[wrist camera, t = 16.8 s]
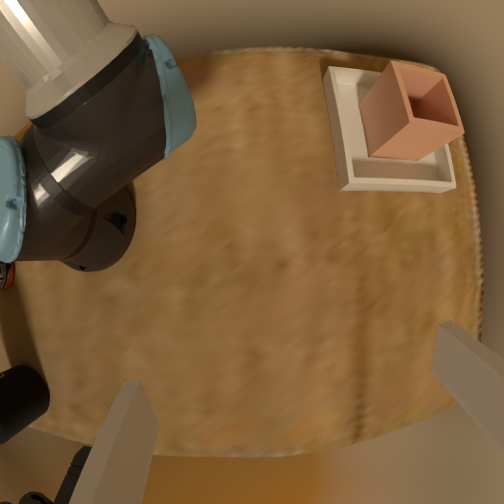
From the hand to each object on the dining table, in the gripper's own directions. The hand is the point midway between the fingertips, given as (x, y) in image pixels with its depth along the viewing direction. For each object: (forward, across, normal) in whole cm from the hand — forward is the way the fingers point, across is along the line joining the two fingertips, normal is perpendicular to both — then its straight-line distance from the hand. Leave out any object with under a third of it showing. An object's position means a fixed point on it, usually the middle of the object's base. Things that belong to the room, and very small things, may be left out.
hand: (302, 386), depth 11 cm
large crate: (+33, +24, +14) cm, 43 cm away
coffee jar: (+25, -47, -21) cm, 57 cm away
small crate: (+32, +24, +14) cm, 42 cm away
